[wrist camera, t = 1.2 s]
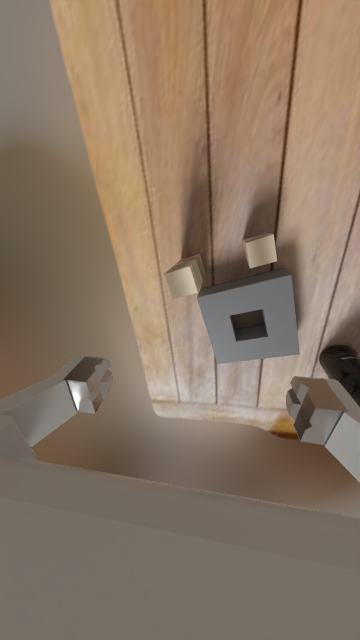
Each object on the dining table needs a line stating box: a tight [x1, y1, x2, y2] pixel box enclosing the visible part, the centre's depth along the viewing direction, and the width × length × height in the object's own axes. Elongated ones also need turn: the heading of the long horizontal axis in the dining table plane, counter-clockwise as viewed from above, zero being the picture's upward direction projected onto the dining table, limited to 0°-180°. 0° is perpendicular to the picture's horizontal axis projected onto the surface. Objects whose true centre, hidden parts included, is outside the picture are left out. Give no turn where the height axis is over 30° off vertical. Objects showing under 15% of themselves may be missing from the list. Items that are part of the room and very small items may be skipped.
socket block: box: [197, 268, 300, 364], centre depth 39 cm, size 16×16×5 cm
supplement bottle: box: [319, 345, 360, 407], centre depth 36 cm, size 7×7×12 cm
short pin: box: [243, 232, 277, 268], centre depth 32 cm, size 4×4×6 cm
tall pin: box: [164, 253, 206, 299], centre depth 34 cm, size 4×4×12 cm
